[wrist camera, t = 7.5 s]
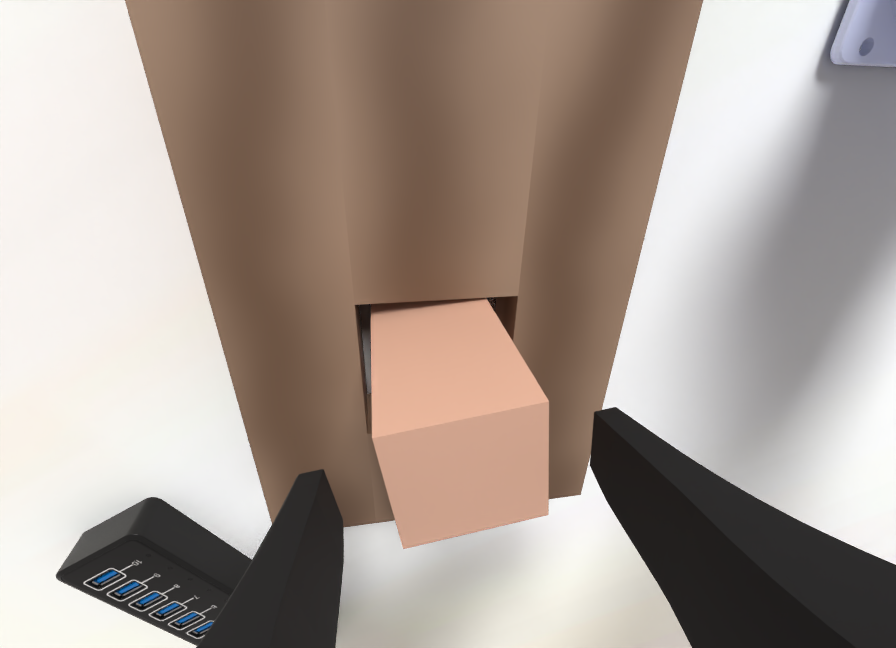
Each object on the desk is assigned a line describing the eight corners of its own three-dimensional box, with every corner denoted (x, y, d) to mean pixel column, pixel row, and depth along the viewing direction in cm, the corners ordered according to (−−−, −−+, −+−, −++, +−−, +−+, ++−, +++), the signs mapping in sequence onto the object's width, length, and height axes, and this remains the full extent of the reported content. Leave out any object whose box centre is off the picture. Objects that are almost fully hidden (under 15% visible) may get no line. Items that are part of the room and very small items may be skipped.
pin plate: (654, -21, 13) (714, -47, 10) (559, 456, 22) (580, 494, 20) (153, -59, 10) (96, -102, 8) (285, 489, 20) (275, 536, 18)
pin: (471, 273, 16) (548, 401, 9) (479, 357, 18) (548, 514, 11) (370, 291, 16) (372, 438, 9) (389, 375, 18) (403, 549, 11)
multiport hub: (157, 487, 19) (133, 533, 17) (340, 612, 26) (338, 654, 24) (81, 529, 19) (48, 578, 17) (282, 641, 26) (275, 685, 24)
